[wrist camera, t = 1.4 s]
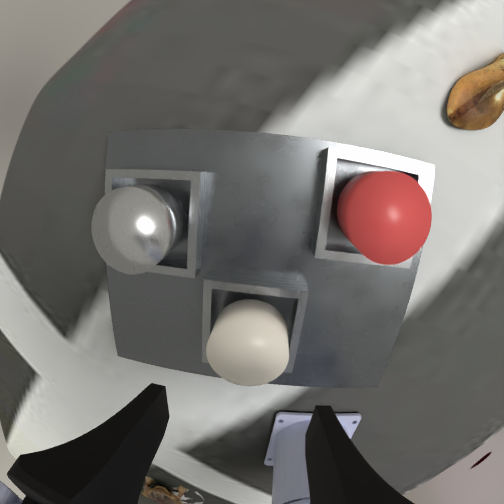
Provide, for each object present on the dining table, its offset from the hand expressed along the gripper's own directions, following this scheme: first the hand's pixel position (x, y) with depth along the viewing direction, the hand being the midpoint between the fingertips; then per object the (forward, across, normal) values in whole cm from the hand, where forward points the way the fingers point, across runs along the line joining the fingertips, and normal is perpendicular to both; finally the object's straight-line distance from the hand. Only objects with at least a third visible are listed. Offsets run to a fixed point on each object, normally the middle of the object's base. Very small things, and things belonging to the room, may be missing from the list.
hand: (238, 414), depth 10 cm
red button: (+7, -6, -8) cm, 12 cm away
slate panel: (+10, 0, -3) cm, 10 cm away
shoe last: (+10, -17, -20) cm, 28 cm away
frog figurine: (+11, +10, +35) cm, 38 cm away
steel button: (+7, +6, -6) cm, 11 cm away
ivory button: (+7, 0, 0) cm, 7 cm away
